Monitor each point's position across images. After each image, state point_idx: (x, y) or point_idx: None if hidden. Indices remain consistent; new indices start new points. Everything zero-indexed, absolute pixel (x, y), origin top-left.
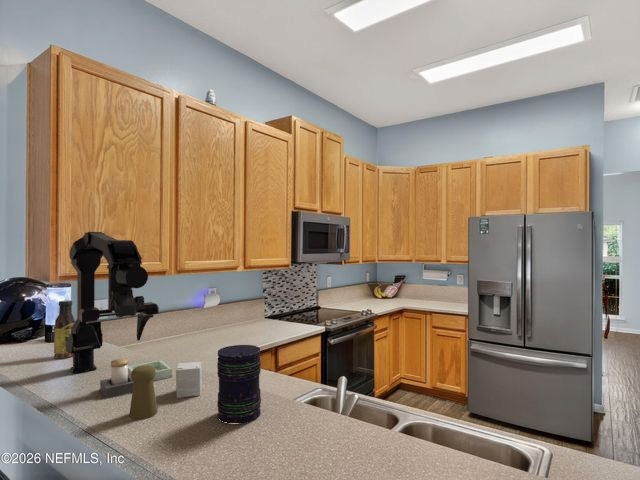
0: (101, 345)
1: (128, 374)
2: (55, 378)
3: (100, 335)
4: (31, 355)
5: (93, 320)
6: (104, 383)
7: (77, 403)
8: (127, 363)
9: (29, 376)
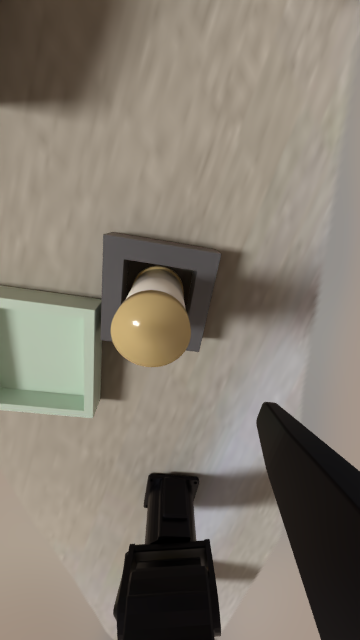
0: (273, 404)
1: (99, 387)
2: (234, 473)
3: (346, 480)
4: None
5: None
6: (202, 312)
7: (282, 274)
8: (123, 301)
9: (261, 508)
